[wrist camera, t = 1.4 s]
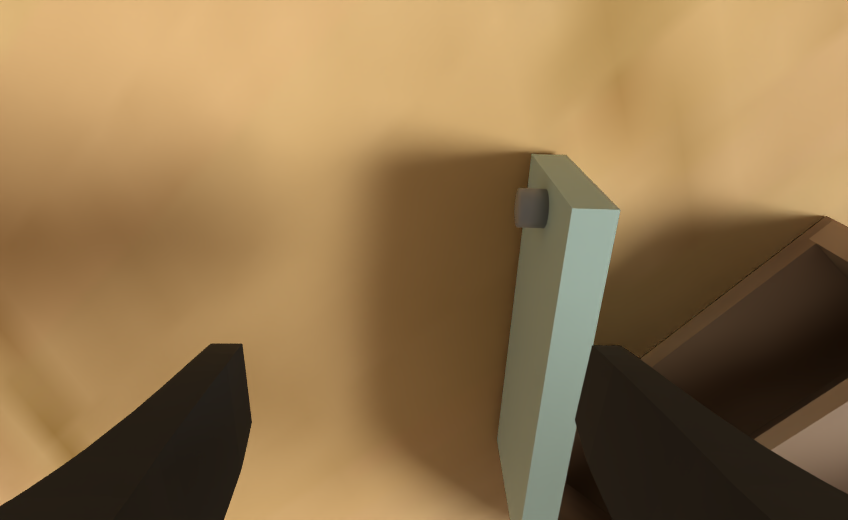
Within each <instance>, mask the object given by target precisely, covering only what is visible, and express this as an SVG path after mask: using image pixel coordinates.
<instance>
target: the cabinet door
mask: <svg viewBox="0 0 848 520" xmlns="http://www.w3.org/2000/svg"><path fill="white" fill-rule="evenodd" d="M619 214H620V209H619V208H618V207H617V206H616V205H615V204H614V203H613V202H612V201H611V200H610V199H609V198H608V197H607V196H606V195H605V194H604V193H603V192H602V191H601V190H600V189H599V188H598V187H597V186H596V185H595V184H594V183H593V182H592V181H591V180H590V179H589V178H588V177H587V176H586V175H585V174H584V173H583V172H582V171H581V170H580V168H579V167H578V166H577V165H576V164H575V163H574V162H573V161H572V160H571V159H570V158H569V157H568V156H567V155H551V154H531V162H530V171H529V179H528V187H527V188H518V190H517V193H516V198H515V208H514V218H515V225H516V227H519V228H523V229H522V237H521V245H520V253H519V262H518V270H517V278H516V287H515V295H514V303H513V311H512V320H511V328H510V336H509V344H508V353H507V361H506V369H505V378H504V386H503V394H502V402H501V411H500V419H499V427H498V436H497V444H498V450H499V456H500V462H501V468H502V474H503V480H504V486H505V492H506V498H507V504H508V510H509V517H510V520H558V516H559V511H560V506H561V501H562V496H563V491H564V486H565V481H566V476H567V471H568V466H569V461H570V456H571V451H572V446H573V441H574V437H575V432H576V427H577V426H576V423H575V416H576V412H577V408H578V403H579V399H580V395H581V390H582V386H583V382H584V378H585V373H586V369H587V365H588V360H589V356H590V352H591V348H592V345H593V343H594V338H595V333H596V328H597V323H598V318H599V313H600V308H601V303H602V298H603V293H604V288H605V283H606V278H607V273H608V268H609V264H610V259H611V254H612V249H613V244H614V239H615V234H616V229H617V224H618V219H619Z"/></svg>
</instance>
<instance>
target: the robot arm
mask: <svg viewBox="0 0 848 520" xmlns="http://www.w3.org/2000/svg"><path fill="white" fill-rule="evenodd" d="M251 423H252V420H251V412H250V403H249V395H248V387H247V379H246V370H245V362H244V354H243V345H242V344H210V345H209V346H208V347H206V348H205V349H204V350H203V351H202V352H201V353H200V354H198V355H197V356H196V357H195V358H194V359H193V360H192V361H191V362H189V363H188V364H187V365H186V366H185V367H184V368H183V369H182V370H180V371H179V372H178V373H177V374H176V375H175V376H174V377H173V378H172V379H170V380H169V381H168V382H167V383H166V384H165V385H164V386H163V387H161V388H160V389H159V390H158V391H157V392H156V393H154V394H153V395H152V396H151V397H150V398H149V399H147V400H146V401H145V402H144V403H143V404H142V405H140V406H139V407H138V408H137V409H136V410H135V411H133V412H132V413H131V414H130V415H128V416H127V417H126V418H124V419H123V420H122V421H121V422H119V423H118V424H117V425H116V426H114V427H113V428H112V429H110V430H109V431H108V432H107V433H105V434H104V435H103V436H102V437H100V438H99V439H98V440H97V441H95V442H94V443H93V444H91V445H90V446H89V447H88V448H86V449H85V450H83V451H82V452H81V453H79V454H78V455H77V456H75V457H74V458H72V459H71V460H70V461H68V462H67V463H65V464H64V465H63V466H61V467H60V468H58V469H57V470H55V471H54V472H52V473H51V474H49V475H48V476H46V477H45V478H43V479H42V480H40V481H39V482H37V483H36V484H34V485H33V486H31V487H30V488H29V489H27V490H25V491H24V492H22V493H21V494H19V495H18V496H16V497H15V498H13V499H11V500H10V501H8V502H6V503H5V504H3V505H1V506H0V520H224V518H225V515H226V512H227V509H228V507H229V504H230V501H231V498H232V495H233V492H234V489H235V487H236V484H237V481H238V478H239V475H240V472H241V469H242V465H243V460H244V456H245V452H246V447H247V442H248V438H249V433H250V428H251ZM575 423H576V426H577V430H578V434H579V437H580V441H581V444H582V447H583V451H584V454H585V457H586V460H587V463H588V466H589V468H590V471H591V473H592V475H593V478H594V480H595V482H596V484H597V487H598V489H599V491H600V493H601V496H602V498H603V500H604V502H605V505H606V507H607V509H608V511H609V513H610V516H611V518H612V520H848V494H847V493H845V492H843V491H841V490H839V489H837V488H836V487H834V486H832V485H830V484H828V483H826V482H824V481H823V480H821V479H819V478H817V477H816V476H814V475H812V474H810V473H809V472H807V471H805V470H804V469H802V468H800V467H798V466H797V465H795V464H793V463H791V462H790V461H788V460H786V459H784V458H783V457H781V456H779V455H778V454H776V453H774V452H773V451H771V450H770V449H768V448H766V447H765V446H763V445H762V444H760V443H758V442H757V441H755V440H754V439H752V438H751V437H749V436H748V435H746V434H745V433H743V432H742V431H740V430H739V429H737V428H736V427H734V426H733V425H731V424H730V423H728V422H727V421H725V420H724V419H722V418H721V417H719V416H718V415H716V414H715V413H714V412H712V411H711V410H709V409H708V408H706V407H705V406H704V405H702V404H701V403H699V402H698V401H697V400H695V399H694V398H692V397H691V396H690V395H688V394H687V393H686V392H684V391H683V390H682V389H680V388H679V387H677V386H676V385H675V384H673V383H672V382H671V381H669V380H668V379H667V378H665V377H664V376H663V375H661V374H660V373H658V372H657V371H656V370H654V369H653V368H652V367H650V366H649V365H648V364H646V363H645V362H643V361H642V360H641V359H639V358H638V357H636V356H635V355H634V354H632V353H631V352H629V351H628V350H626V349H625V348H623V347H622V346H609V345H592V348H591V352H590V356H589V360H588V365H587V369H586V373H585V378H584V382H583V386H582V390H581V395H580V399H579V403H578V408H577V412H576V416H575Z"/></svg>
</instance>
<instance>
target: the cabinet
mask: <svg viewBox="0 0 848 520" xmlns="http://www.w3.org/2000/svg"><path fill="white" fill-rule="evenodd" d="M641 360H642V361H643V362H645V363H646V364H648V365H649V366H650V367H652V368H653V369H654V370H656V371H657V372H658V373H660V374H661V375H663V376H664V377H665V378H667V379H668V380H669V381H671V382H672V383H673V384H675V385H676V386H677V387H679V388H680V389H682V390H683V391H684V392H686V393H687V394H688V395H690V396H691V397H692V398H694V399H695V400H697V401H698V402H699V403H701V404H702V405H704V406H705V407H706V408H708V409H709V410H711V411H712V412H714V413H715V414H716V415H718V416H719V417H721V418H722V419H724V420H725V421H727V422H728V423H730V424H731V425H733V426H734V427H736V428H737V429H739V430H740V431H742V432H743V433H745V434H746V435H748V436H749V437H751V438H752V439H754V440H755V441H757V442H758V443H760V444H762V445H763V446H765V447H766V448H768V449H770V450H771V451H773V452H774V453H776V454H778V455H779V456H781V457H783V458H784V459H786V460H788V461H790V462H791V463H793V464H795V465H797V466H798V467H800V468H802V469H804V470H805V471H807V472H809V473H810V474H812V475H814V476H816V477H817V478H819V479H821V480H823V481H824V482H826V483H828V484H830V485H832V486H834V487H836V488H837V489H839V490H841V491H843V492H845V493H847V494H848V227H847V226H845V225H843V224H841V223H839V222H837V221H835V220H833V219H831V218H829V217H827V216H826V217H824V218H823V219H822V220H820V221H819V222H818V223H816V224H815V225H814V226H812V227H811V228H810V229H809V230H807V231H806V232H805V233H803V234H802V235H801V236H799V237H798V238H797V239H796V240H794V241H793V242H792V243H790V244H789V245H788V246H786V247H785V248H784V249H783V250H781V251H780V252H779V253H777V254H776V255H775V256H773V257H772V258H771V259H769V260H768V261H767V262H766V263H764V264H763V265H762V266H760V267H759V268H758V269H756V270H755V271H754V272H753V273H751V274H750V275H749V276H747V277H746V278H745V279H743V280H742V281H741V282H740V283H738V284H737V285H736V286H734V287H733V288H732V289H730V290H729V291H728V292H727V293H725V294H724V295H723V296H721V297H720V298H719V299H717V300H716V301H715V302H713V303H712V304H711V305H710V306H708V307H707V308H706V309H704V310H703V311H702V312H700V313H699V314H698V315H697V316H695V317H694V318H693V319H691V320H690V321H689V322H687V323H686V324H685V325H684V326H682V327H681V328H680V329H678V330H677V331H676V332H674V333H673V334H672V335H670V336H669V337H668V338H667V339H665V340H664V341H663V342H661V343H660V344H659V345H657V346H656V347H655V348H654V349H652V350H651V351H650V352H648V353H647V354H646V355H644V356H643V357H642V358H641ZM558 520H612V518H611V516H610V513H609V511H608V509H607V507H606V505H605V502H604V500H603V498H602V496H601V493H600V491H599V489H598V487H597V484H596V482H595V480H594V478H593V475H592V473H591V471H590V468H589V466H588V463H587V460H586V457H585V454H584V451H583V447H582V444H581V441H580V437H579V434H578V430H577V427H576V432H575V437H574V441H573V446H572V451H571V456H570V461H569V466H568V471H567V476H566V481H565V486H564V491H563V496H562V501H561V506H560V511H559V516H558Z"/></svg>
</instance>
